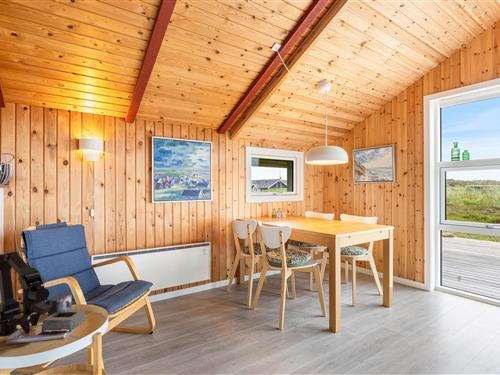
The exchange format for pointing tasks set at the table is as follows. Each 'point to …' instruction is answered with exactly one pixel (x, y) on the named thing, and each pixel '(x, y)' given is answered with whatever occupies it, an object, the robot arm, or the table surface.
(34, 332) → the tan rectangular block
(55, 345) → the table surface
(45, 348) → the table surface
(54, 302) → the small box
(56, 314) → the grey slotted block
